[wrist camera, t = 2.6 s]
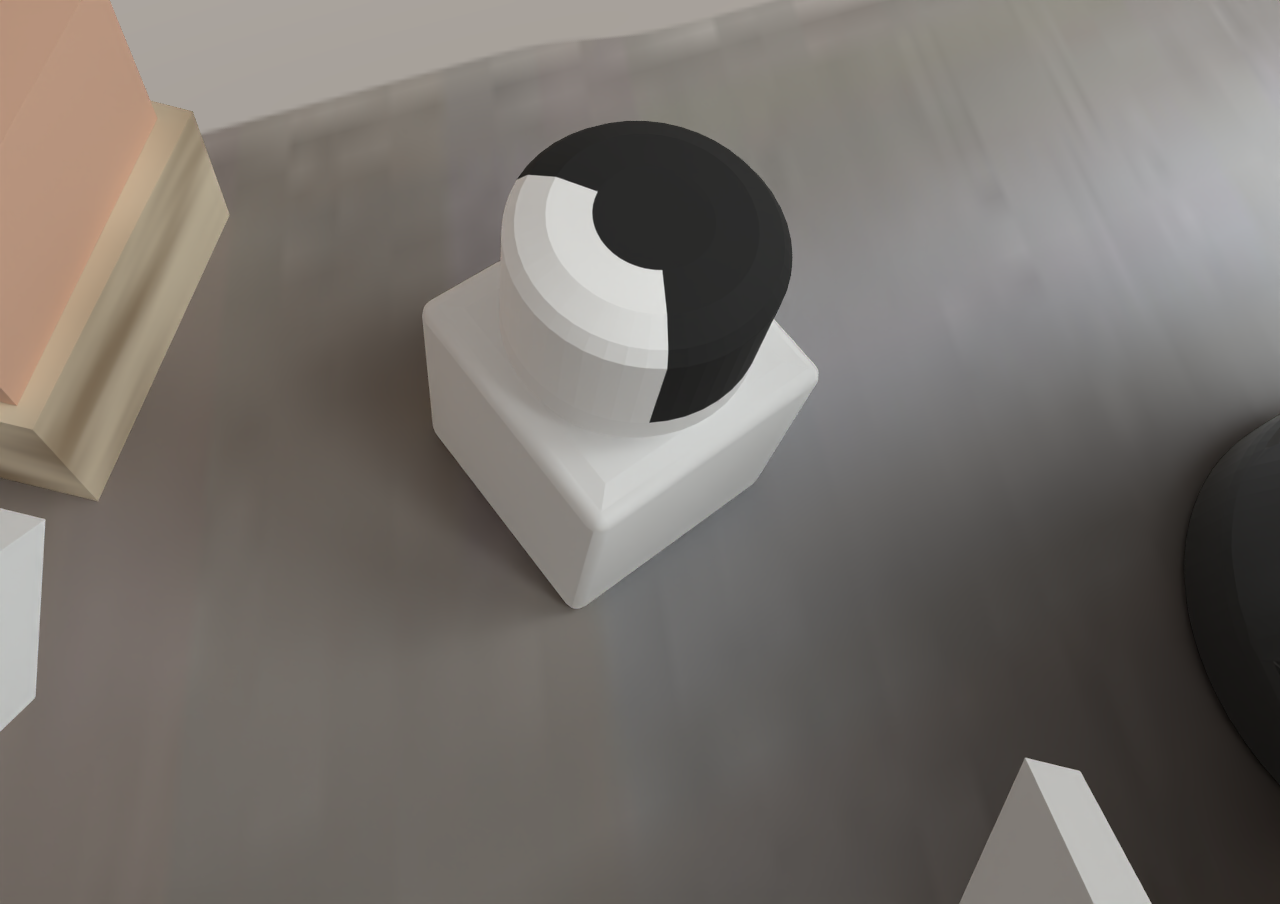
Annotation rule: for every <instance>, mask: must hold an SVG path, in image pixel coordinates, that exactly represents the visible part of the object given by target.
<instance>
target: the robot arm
mask: <svg viewBox="0 0 1280 904" xmlns="http://www.w3.org/2000/svg"><path fill="white" fill-rule="evenodd" d="M44 536H45V519H42V518H38V517H34V516H30V515H26V514H22V513H18V512H14V511H10V510H6V509H1V508H0V731H1V730H2V729H3V728H4V727H5V726H6V725H7V724H9V723H10V722H11V721H12V720H13V719H14V718H15V717H16V716H17V715H18V714H19V713H20V712H21V711H22V710H23V709H24V708H25V707H26V706H27V705H28V704H29V703H30V702H31V701H32V700H33V699H34V698H35V696H36V679H37V661H38V643H39V625H40V607H41V590H42V572H43V554H44ZM1184 571H1185V589H1186V598H1187V606H1188V611H1189V616H1190V622H1191V626H1192V630H1193V633H1194V637H1195V641H1196V644H1197V647H1198V650H1199V653H1200V656H1201V659H1202V662H1203V664H1204V667H1205V669H1206V672H1207V674H1208V677H1209V679H1210V681H1211V683H1212V686H1213V688H1214V690H1215V692H1216V694H1217V696H1218V698H1219V700H1220V702H1221V704H1222V705H1223V707H1224V709H1225V711H1226V713H1227V715H1228V716H1229V718H1230V719H1231V721H1232V723H1233V724H1234V726H1235V728H1236V729H1237V731H1238V732H1239V734H1240V735H1241V737H1242V738H1243V740H1244V741H1245V742H1246V744H1247V745H1248V747H1249V748H1250V749H1251V751H1252V752H1253V753H1254V755H1255V756H1256V757H1257V758H1258V760H1259V761H1260V762H1261V763H1262V765H1263V766H1264V767H1265V768H1266V770H1267V771H1268V772H1269V773H1270V774H1271V775H1272V776H1273V777H1274V779H1275V780H1276V781H1277V782H1278V783H1279V784H1280V414H1279V415H1278V416H1276V417H1275V418H1273V419H1271V420H1270V421H1268V422H1267V423H1265V424H1264V425H1262V426H1260V427H1259V428H1257V429H1256V430H1254V431H1253V432H1251V433H1250V434H1248V435H1247V436H1245V437H1244V438H1242V439H1241V440H1240V441H1239V442H1238V443H1236V444H1235V445H1234V446H1233V447H1232V448H1231V449H1230V450H1229V451H1228V452H1227V453H1226V454H1225V455H1224V456H1223V457H1222V458H1221V459H1220V461H1219V462H1218V463H1217V464H1216V466H1215V467H1214V468H1213V470H1212V471H1211V473H1210V475H1209V476H1208V478H1207V479H1206V481H1205V483H1204V485H1203V487H1202V489H1201V491H1200V493H1199V495H1198V498H1197V500H1196V503H1195V505H1194V509H1193V512H1192V515H1191V519H1190V523H1189V528H1188V533H1187V539H1186V548H1185V566H1184ZM959 904H1152V903H1151V902H1150V900H1149V898H1148V896H1147V894H1146V892H1145V890H1144V889H1143V887H1142V885H1141V883H1140V881H1139V879H1138V877H1137V876H1136V874H1135V872H1134V870H1133V868H1132V866H1131V864H1130V863H1129V861H1128V859H1127V857H1126V855H1125V853H1124V851H1123V850H1122V848H1121V846H1120V844H1119V842H1118V840H1117V838H1116V837H1115V835H1114V833H1113V831H1112V829H1111V827H1110V825H1109V824H1108V822H1107V820H1106V818H1105V816H1104V814H1103V812H1102V811H1101V809H1100V807H1099V805H1098V803H1097V801H1096V799H1095V798H1094V796H1093V794H1092V792H1091V790H1090V788H1089V786H1088V785H1087V783H1086V781H1085V779H1084V777H1083V775H1082V773H1081V772H1080V771H1078V770H1074V769H1070V768H1066V767H1062V766H1058V765H1053V764H1049V763H1045V762H1041V761H1037V760H1033V759H1029V758H1025V759H1024V761H1023V763H1022V766H1021V768H1020V770H1019V772H1018V774H1017V777H1016V779H1015V781H1014V783H1013V785H1012V788H1011V790H1010V792H1009V794H1008V797H1007V799H1006V801H1005V803H1004V805H1003V808H1002V810H1001V812H1000V814H999V817H998V819H997V821H996V823H995V825H994V828H993V830H992V832H991V834H990V836H989V839H988V841H987V843H986V845H985V848H984V850H983V852H982V854H981V856H980V859H979V861H978V863H977V865H976V867H975V870H974V872H973V874H972V876H971V879H970V881H969V883H968V885H967V887H966V890H965V892H964V894H963V896H962V899H961V901H960V903H959Z"/></svg>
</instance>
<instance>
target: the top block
mask: <svg viewBox="0 0 1280 904" xmlns="http://www.w3.org/2000/svg"><path fill="white" fill-rule="evenodd" d="M156 120H157V116H156V113H155V111H154V109H153V106H152V104H151V101H150V99H149V96H148V94H147V91H146V89H145V86H144V84H143V81H142V79H141V77H140V74H139V72H138V69H137V67H136V64H135V62H134V59H133V57H132V54H131V52H130V49H129V47H128V45H127V42H126V39H125V37H124V35H123V32H122V30H121V27H120V25H119V22H118V20H117V17H116V15H115V12H114V10H113V7H112V5H111V2H110V0H0V402H2V403H7V404H11V405H16V406H17V405H18V403H19V401H20V399H21V397H22V395H23V393H24V391H25V389H26V386H27V384H28V382H29V380H30V378H31V376H32V374H33V372H34V370H35V368H36V366H37V364H38V362H39V360H40V358H41V356H42V354H43V352H44V350H45V348H46V346H47V343H48V341H49V339H50V337H51V335H52V333H53V331H54V329H55V327H56V325H57V323H58V321H59V319H60V317H61V315H62V313H63V311H64V309H65V307H66V305H67V303H68V301H69V298H70V296H71V294H72V292H73V290H74V288H75V286H76V284H77V282H78V280H79V278H80V276H81V274H82V272H83V270H84V268H85V266H86V264H87V262H88V260H89V258H90V256H91V253H92V251H93V249H94V247H95V245H96V243H97V241H98V239H99V237H100V235H101V233H102V231H103V229H104V227H105V225H106V223H107V221H108V219H109V217H110V215H111V213H112V211H113V208H114V206H115V204H116V202H117V200H118V198H119V196H120V194H121V192H122V190H123V188H124V186H125V184H126V182H127V180H128V178H129V176H130V174H131V172H132V170H133V168H134V166H135V163H136V161H137V159H138V157H139V155H140V153H141V151H142V149H143V147H144V145H145V143H146V141H147V139H148V137H149V135H150V133H151V131H152V129H153V127H154V125H155V123H156Z"/></svg>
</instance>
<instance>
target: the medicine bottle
mask: <svg viewBox="0 0 1280 904" xmlns="http://www.w3.org/2000/svg"><path fill="white" fill-rule="evenodd" d="M791 268H792V246H791V238H790V234H789V230H788V225H787V222H786V220H785V217H784V215H783V212H782V210H781V207H780V206H779V204H778V202H777V201H776V199H775V197H774V195H773V194H772V192H771V191H770V189H769V188H768V187H767V185H766V184H765V183H764V182H763V180H762V179H761V178H760V177H759V176H758V175H757V174H756V173H755V172H754V171H753V170H752V169H751V168H750V167H749V166H748V165H747V164H746V163H745V162H744V161H743V160H741V159H740V158H739V157H738V156H736V155H735V154H734V153H733V152H731V151H730V150H729V149H727V148H725V147H724V146H722V145H721V144H719V143H717V142H716V141H714V140H712V139H710V138H708V137H705V136H703V135H701V134H699V133H697V132H694V131H691V130H688V129H685V128H682V127H678V126H674V125H669V124H665V123H658V122H649V121H623V122H615V123H608V124H604V125H599V126H595V127H591V128H587V129H584V130H581V131H579V132H576V133H573V134H571V135H568V136H567V137H565V138H563V139H561V140H559V141H557V142H555V143H553V144H552V145H551V146H549V147H548V148H547V149H545V150H544V151H542V152H541V153H540V154H539V155H538V156H537V157H536V158H535V159H534V160H533V161H531V162H530V163H529V164H528V165H527V167H526V168H525V169H524V171H523V172H522V173H521V175H520V176H519V177H518V179H517V180H516V182H515V184H514V186H513V188H512V190H511V192H510V194H509V196H508V200H507V203H506V206H505V209H504V214H503V221H502V228H501V260H500V261H499V262H497V263H495V264H493V265H492V266H490V267H488V268H486V269H485V270H483V271H481V272H479V273H478V274H476V275H474V276H472V277H470V278H469V279H467V280H465V281H463V282H462V283H460V284H458V285H456V286H455V287H453V288H451V289H449V290H448V291H446V292H444V293H442V294H441V295H439V296H437V297H435V298H434V299H432V300H430V301H429V302H428V303H427V304H426V305H425V306H424V309H423V313H422V320H423V331H424V341H425V351H426V361H427V371H428V381H429V391H430V401H431V412H432V422H433V428H434V431H435V433H436V434H437V436H438V437H439V438H440V440H441V441H442V442H443V443H444V445H445V446H446V447H447V449H448V450H449V451H450V453H451V454H452V455H453V457H454V458H455V459H456V460H457V462H458V463H459V464H460V466H461V467H462V468H463V470H464V471H465V472H466V474H467V475H468V476H469V477H470V479H471V480H472V481H473V483H474V484H475V485H476V487H477V488H478V489H479V490H480V492H481V493H482V494H483V496H484V497H485V498H486V500H487V501H488V502H489V504H490V505H491V506H492V507H493V509H494V510H495V511H496V513H497V514H498V515H499V517H500V518H501V519H502V521H503V522H504V523H505V524H506V526H507V527H508V528H509V530H510V531H511V532H512V534H513V535H514V536H515V537H516V539H517V540H518V541H519V543H520V544H521V545H522V547H523V548H524V549H525V551H526V552H527V553H528V554H529V556H530V557H531V558H532V560H533V561H534V562H535V564H536V565H537V566H538V568H539V569H540V570H541V571H542V573H543V574H544V575H545V577H546V578H547V579H548V581H549V582H550V583H551V584H552V586H553V587H554V588H555V590H556V591H557V592H558V594H559V595H560V596H561V598H562V599H563V600H564V601H565V603H566V604H567V605H569V606H570V607H571V608H575V609H580V608H582V607H585V606H586V605H588V604H589V603H590V602H592V601H593V600H594V599H596V598H597V597H599V596H600V595H601V594H603V593H604V592H605V591H607V590H608V589H610V588H611V587H612V586H614V585H615V584H616V583H618V582H619V581H621V580H622V579H623V578H625V577H626V576H627V575H629V574H630V573H632V572H633V571H634V570H636V569H637V568H638V567H640V566H641V565H642V564H644V563H645V562H647V561H648V560H649V559H651V558H652V557H653V556H655V555H656V554H658V553H659V552H660V551H662V550H663V549H664V548H666V547H667V546H669V545H670V544H671V543H673V542H674V541H675V540H677V539H678V538H680V537H681V536H682V535H684V534H685V533H686V532H688V531H689V530H691V529H692V528H693V527H695V526H696V525H697V524H699V523H700V522H702V521H703V520H704V519H706V518H707V517H708V516H710V515H711V514H713V513H714V512H715V511H717V510H718V509H719V508H721V507H722V506H723V505H725V504H726V503H728V502H729V501H730V500H732V499H733V498H734V497H736V496H737V495H739V494H740V493H741V492H743V491H744V490H745V489H747V488H748V487H750V486H751V485H752V484H754V483H755V481H756V480H757V479H758V477H759V476H760V474H761V472H762V471H763V469H764V467H765V466H766V464H767V463H768V461H769V459H770V458H771V456H772V455H773V453H774V451H775V450H776V448H777V447H778V445H779V443H780V442H781V440H782V439H783V437H784V435H785V434H786V432H787V430H788V429H789V427H790V426H791V424H792V422H793V421H794V419H795V418H796V416H797V414H798V413H799V411H800V410H801V408H802V406H803V405H804V403H805V402H806V400H807V398H808V397H809V395H810V394H811V392H812V390H813V389H814V387H815V385H816V384H817V382H818V373H819V371H818V369H817V367H816V365H815V364H814V363H813V362H812V361H811V360H810V359H809V358H808V356H807V355H806V354H805V353H804V352H803V351H802V350H801V349H800V348H799V346H798V345H797V344H796V343H795V342H794V341H793V340H792V339H791V338H790V336H789V335H788V334H787V333H786V332H785V331H784V330H783V329H782V327H781V326H780V325H779V324H778V323H777V322H776V321H775V320H774V317H775V315H776V313H777V311H778V309H779V307H780V305H781V302H782V300H783V298H784V296H785V294H786V291H787V288H788V284H789V280H790V276H791Z"/></svg>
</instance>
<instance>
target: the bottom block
mask: <svg viewBox="0 0 1280 904" xmlns="http://www.w3.org/2000/svg"><path fill="white" fill-rule="evenodd" d="M151 104H152V106H153V109H154V111H155V113H156V116H157V120H156V123H155V125H154V127H153V129H152V131H151V133H150V135H149V137H148V139H147V141H146V143H145V145H144V147H143V149H142V151H141V153H140V155H139V157H138V159H137V161H136V163H135V166H134V168H133V170H132V172H131V174H130V176H129V178H128V180H127V182H126V184H125V186H124V188H123V190H122V192H121V194H120V196H119V198H118V200H117V202H116V204H115V206H114V208H113V211H112V213H111V215H110V217H109V219H108V221H107V223H106V225H105V227H104V229H103V231H102V233H101V235H100V237H99V239H98V241H97V243H96V245H95V247H94V249H93V251H92V253H91V256H90V258H89V260H88V262H87V264H86V266H85V268H84V270H83V272H82V274H81V276H80V278H79V280H78V282H77V284H76V286H75V288H74V290H73V292H72V294H71V296H70V298H69V301H68V303H67V305H66V307H65V309H64V311H63V313H62V315H61V317H60V319H59V321H58V323H57V325H56V327H55V329H54V331H53V333H52V335H51V337H50V339H49V341H48V343H47V346H46V348H45V350H44V352H43V354H42V356H41V358H40V360H39V362H38V364H37V366H36V368H35V370H34V372H33V374H32V376H31V378H30V380H29V382H28V384H27V386H26V389H25V391H24V393H23V395H22V397H21V399H20V401H19V403H18V405H17V406H16V405H11V404H7V403H2V402H0V478H4V479H8V480H12V481H16V482H20V483H24V484H29V485H33V486H37V487H41V488H45V489H49V490H53V491H57V492H62V493H66V494H70V495H74V496H78V497H82V498H86V499H91V500H95V501H99V498H100V496H101V494H102V492H103V490H104V488H105V485H106V483H107V481H108V479H109V477H110V474H111V472H112V470H113V468H114V466H115V464H116V461H117V459H118V457H119V455H120V453H121V450H122V448H123V446H124V444H125V442H126V440H127V437H128V435H129V433H130V431H131V429H132V427H133V424H134V422H135V420H136V418H137V416H138V413H139V411H140V409H141V407H142V405H143V403H144V400H145V398H146V396H147V394H148V392H149V389H150V387H151V385H152V383H153V381H154V379H155V376H156V374H157V372H158V370H159V368H160V366H161V363H162V361H163V359H164V357H165V355H166V352H167V350H168V348H169V346H170V344H171V342H172V339H173V337H174V335H175V333H176V331H177V328H178V326H179V324H180V322H181V320H182V318H183V315H184V313H185V311H186V309H187V307H188V305H189V302H190V300H191V298H192V296H193V294H194V291H195V289H196V287H197V285H198V283H199V281H200V278H201V276H202V274H203V272H204V270H205V267H206V265H207V263H208V261H209V259H210V257H211V254H212V252H213V250H214V248H215V246H216V244H217V241H218V239H219V237H220V235H221V233H222V230H223V228H224V226H225V224H226V222H227V220H228V217H229V212H228V209H227V206H226V203H225V201H224V198H223V195H222V192H221V189H220V187H219V184H218V181H217V178H216V175H215V173H214V170H213V167H212V164H211V161H210V159H209V156H208V153H207V150H206V147H205V145H204V142H203V139H202V136H201V133H200V131H199V128H198V125H197V122H196V119H195V117H194V114H193V112H192V111H188V110H185V109H181V108H177V107H173V106H169V105H165V104H161V103H157V102H153V101H151Z"/></svg>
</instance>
